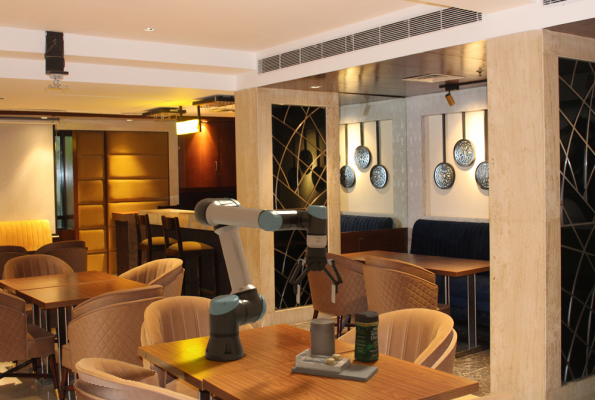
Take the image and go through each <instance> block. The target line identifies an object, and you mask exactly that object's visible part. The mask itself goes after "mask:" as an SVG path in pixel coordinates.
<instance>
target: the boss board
mask: <svg viewBox="0 0 595 400" xmlns="http://www.w3.org/2000/svg"><path fill="white" fill-rule="evenodd" d="M333 358H334V359H333ZM339 358H342V356H341V354H340V353H335V354H333V355H332V358H328V359H326V362H327V363H328V365H332V366H333V363H334V362H335V361H339ZM378 371H379V366H371V365H363V364H356V363H350V366H348V367H347V368H346V369H345V370H343V371H342V372H341V373H334V372H327V371H319V370H311V369H304V368H296V365H295V366H293V367H291V372H292V373H298V374H305V375H313V376H320V377H328V378H337V379H343V380H350V381H351V380H352V381H359V382H365V383H367V382H368V381H367V380H370V379H371V378H372V377H373V376H374V375H375V374H376V373H377V372H378Z"/></svg>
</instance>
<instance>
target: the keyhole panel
mask: <svg viewBox="0 0 595 400" xmlns="http://www.w3.org/2000/svg"><path fill="white" fill-rule="evenodd" d="M328 358H332V357H330V356H322V355H313V354H311V348H306V349H304V350H303V351H301V352H300V353H298V354H297V355H295V366H296V368H304V369H311V370H319V371H327V372H334V373H341V372H342V371H343V370H345V369H346V368H347V367H348V366H350V364H351V358H347V357H341V358H339V361H335V362H334V363H333V366H332V365H328V363H327V362H326V359H328ZM333 359H334V358H333Z"/></svg>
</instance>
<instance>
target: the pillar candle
mask: <svg viewBox="0 0 595 400" xmlns="http://www.w3.org/2000/svg"><path fill="white" fill-rule="evenodd" d="M309 322H310V354H313V355H322V356H330V357H332V355H333V354H336V333H335V332H336V331H335V330H336V329H335V328H336V327H335V320H334V319H333V318H326V317H325V318H324V317H321V318H313V319H311V320H310V321H309Z"/></svg>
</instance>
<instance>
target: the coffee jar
mask: <svg viewBox="0 0 595 400" xmlns="http://www.w3.org/2000/svg"><path fill="white" fill-rule="evenodd" d="M379 323H380V316H379V313H378V312H377V311H373V310H367V311H361V312H357V313H356V314H354V326H355V339H354V341H355V342H354V355H353V359H355V360H356V361H358V362H361V363H363V362H366V363H370V362H373V361H376V360H378V359H379V358H380V356H379V355H380V353H379V352H380V351H379V333H378V332H379V331H378V329H379Z"/></svg>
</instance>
